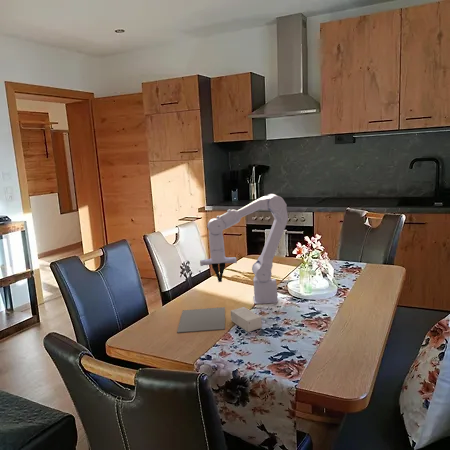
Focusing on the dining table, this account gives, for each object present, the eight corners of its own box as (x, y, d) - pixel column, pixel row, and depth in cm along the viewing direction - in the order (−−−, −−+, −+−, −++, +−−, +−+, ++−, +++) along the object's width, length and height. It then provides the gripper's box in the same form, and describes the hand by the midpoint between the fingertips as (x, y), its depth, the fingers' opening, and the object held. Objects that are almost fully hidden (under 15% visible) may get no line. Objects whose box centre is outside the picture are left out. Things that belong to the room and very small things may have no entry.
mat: (224, 307, 168) (224, 307, 168) (224, 329, 148) (224, 328, 148) (182, 311, 168) (182, 310, 168) (177, 332, 148) (177, 332, 148)
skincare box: (230, 321, 155) (247, 332, 144) (230, 310, 154) (246, 320, 143) (245, 317, 157) (262, 327, 147) (244, 306, 157) (261, 316, 146)
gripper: (234, 244, 170) (237, 276, 173) (199, 247, 170) (202, 279, 173) (235, 248, 163) (238, 282, 166) (198, 252, 163) (201, 285, 166)
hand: (220, 281), depth 169 cm, fingers closed
